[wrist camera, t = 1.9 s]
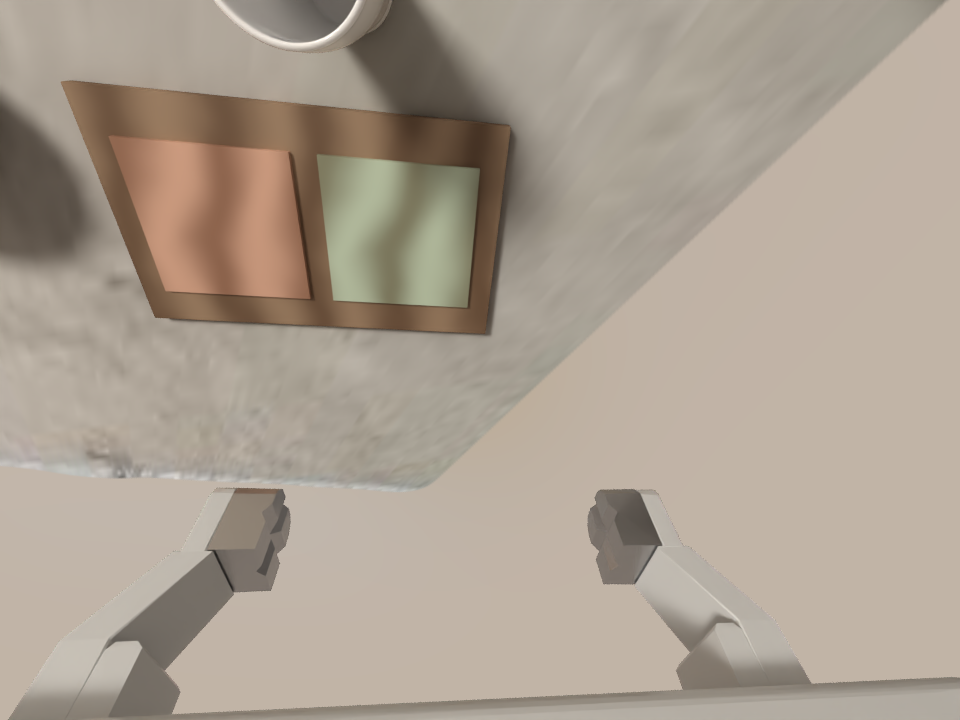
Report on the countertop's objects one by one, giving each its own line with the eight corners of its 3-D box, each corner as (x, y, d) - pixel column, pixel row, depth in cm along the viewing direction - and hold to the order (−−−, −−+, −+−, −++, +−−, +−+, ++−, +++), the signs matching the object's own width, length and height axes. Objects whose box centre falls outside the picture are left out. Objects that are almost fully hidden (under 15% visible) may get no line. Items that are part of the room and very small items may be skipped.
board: (509, 125, 32) (511, 128, 31) (484, 328, 43) (485, 336, 42) (71, 80, 29) (56, 82, 28) (160, 312, 40) (152, 319, 39)
